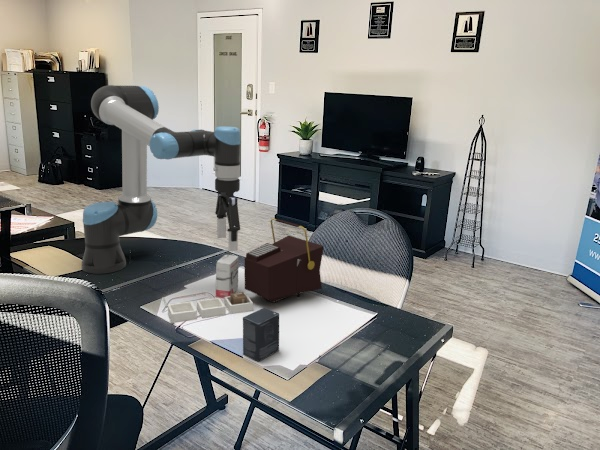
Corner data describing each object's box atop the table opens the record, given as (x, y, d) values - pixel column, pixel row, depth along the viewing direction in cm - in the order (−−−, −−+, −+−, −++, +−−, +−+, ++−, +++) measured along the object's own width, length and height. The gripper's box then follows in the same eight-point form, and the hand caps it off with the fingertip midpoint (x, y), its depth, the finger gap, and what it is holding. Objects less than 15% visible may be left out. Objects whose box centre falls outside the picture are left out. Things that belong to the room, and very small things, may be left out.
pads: (162, 298, 158) (162, 297, 158) (235, 288, 167) (235, 288, 167) (165, 307, 152) (165, 306, 152) (241, 296, 161) (241, 295, 161)
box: (263, 343, 132) (264, 306, 130) (279, 351, 129) (280, 313, 126) (242, 354, 126) (242, 316, 124) (258, 362, 123) (258, 323, 120)
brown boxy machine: (324, 294, 165) (328, 221, 158) (274, 316, 148) (276, 235, 142) (289, 281, 176) (291, 212, 169) (238, 299, 159) (238, 223, 153)
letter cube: (230, 305, 153) (230, 293, 152) (242, 303, 155) (242, 291, 154) (234, 311, 149) (234, 298, 148) (246, 309, 151) (246, 296, 150)
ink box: (230, 299, 158) (230, 263, 155) (215, 297, 159) (214, 262, 156) (239, 288, 167) (239, 255, 163) (224, 287, 168) (224, 253, 164)
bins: (168, 313, 147) (167, 304, 147) (246, 302, 157) (246, 294, 156) (172, 324, 141) (171, 314, 140) (253, 312, 151) (253, 302, 150)
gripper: (206, 171, 162) (206, 233, 168) (226, 186, 140) (225, 257, 146) (228, 170, 165) (228, 232, 171) (251, 185, 143) (250, 255, 149)
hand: (227, 244), depth 159 cm, fingers open, 13 cm apart
